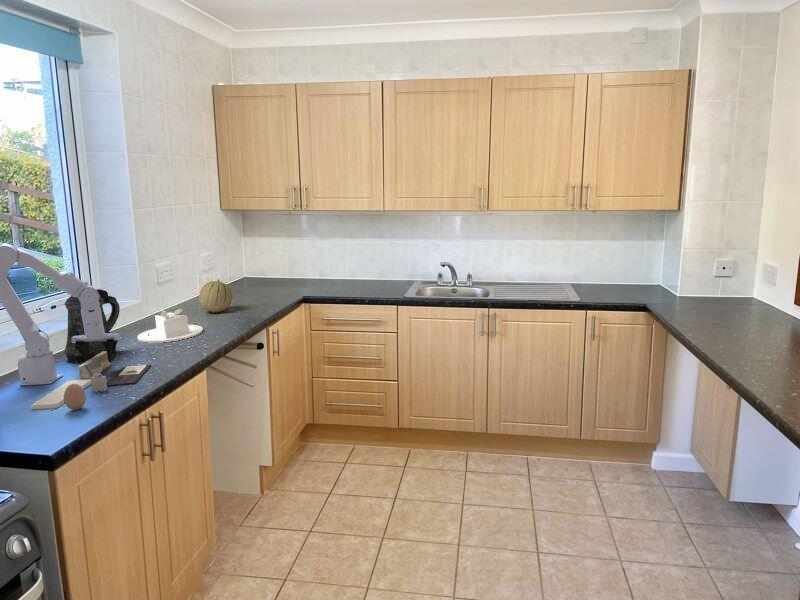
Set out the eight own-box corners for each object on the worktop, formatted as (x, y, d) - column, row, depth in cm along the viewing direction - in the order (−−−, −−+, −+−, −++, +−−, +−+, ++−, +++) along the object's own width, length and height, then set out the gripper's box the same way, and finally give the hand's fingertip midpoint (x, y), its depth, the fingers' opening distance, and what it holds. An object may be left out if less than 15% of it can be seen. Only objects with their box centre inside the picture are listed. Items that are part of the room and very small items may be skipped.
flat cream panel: (31, 409, 161) (30, 405, 160) (69, 384, 180) (68, 380, 180) (57, 407, 161) (56, 403, 160) (92, 382, 180) (91, 379, 180)
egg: (92, 405, 161) (87, 380, 160) (80, 413, 156) (75, 387, 155) (73, 405, 162) (69, 380, 160) (61, 413, 156) (56, 387, 155)
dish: (216, 331, 239) (212, 304, 236) (162, 347, 218) (158, 318, 216) (178, 325, 252) (175, 299, 250) (124, 339, 232) (120, 312, 229)
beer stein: (55, 363, 203) (42, 293, 198) (91, 347, 222) (80, 283, 217) (98, 363, 201) (86, 292, 195) (131, 347, 219) (121, 281, 214)
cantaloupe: (194, 315, 268) (190, 283, 265) (210, 308, 282) (206, 277, 279) (224, 315, 265) (220, 283, 262) (238, 308, 279) (235, 277, 276)
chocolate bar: (103, 385, 176) (122, 367, 193) (104, 388, 176) (123, 369, 193) (135, 382, 177) (151, 364, 194) (135, 385, 177) (151, 367, 195)
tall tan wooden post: (80, 381, 182) (78, 366, 181) (104, 365, 198) (102, 351, 197) (87, 381, 182) (84, 366, 181) (110, 365, 198) (108, 351, 197)
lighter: (108, 389, 173) (104, 364, 172) (104, 391, 172) (99, 365, 170) (88, 388, 175) (83, 363, 174) (83, 390, 174) (79, 365, 172)
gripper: (120, 318, 194) (127, 356, 196) (76, 320, 193) (83, 359, 196) (111, 323, 187) (117, 363, 190) (65, 326, 186) (72, 366, 189)
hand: (99, 362), depth 192 cm, fingers open, 7 cm apart
